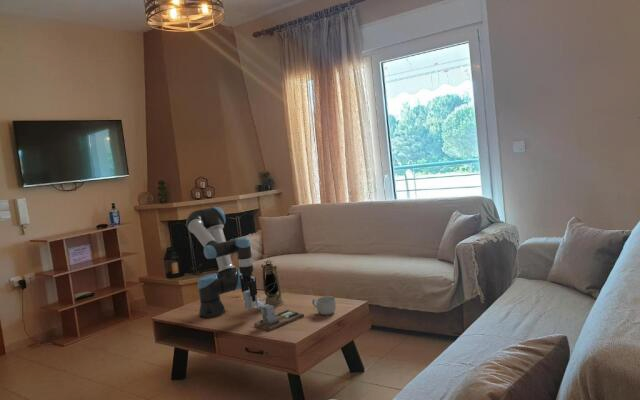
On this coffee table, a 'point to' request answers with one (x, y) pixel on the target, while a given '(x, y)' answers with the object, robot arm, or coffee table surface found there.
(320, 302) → the teacup
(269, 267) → the lantern
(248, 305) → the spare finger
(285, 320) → the finger rail
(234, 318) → the coffee table surface
